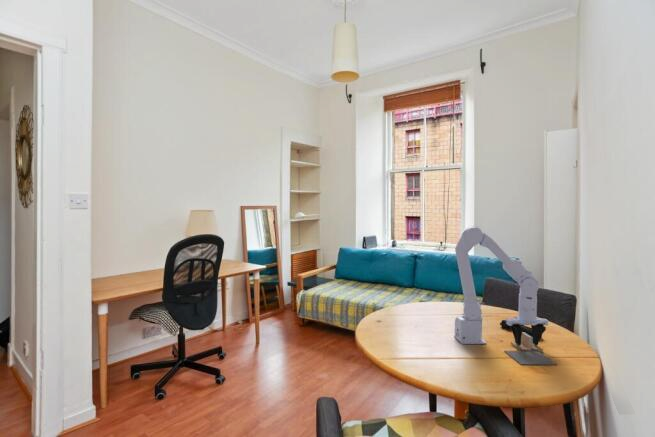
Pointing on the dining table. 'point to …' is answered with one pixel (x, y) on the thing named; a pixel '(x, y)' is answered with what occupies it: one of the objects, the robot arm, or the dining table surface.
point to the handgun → (525, 328)
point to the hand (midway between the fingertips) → (526, 344)
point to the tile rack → (524, 348)
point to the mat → (530, 358)
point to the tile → (527, 340)
